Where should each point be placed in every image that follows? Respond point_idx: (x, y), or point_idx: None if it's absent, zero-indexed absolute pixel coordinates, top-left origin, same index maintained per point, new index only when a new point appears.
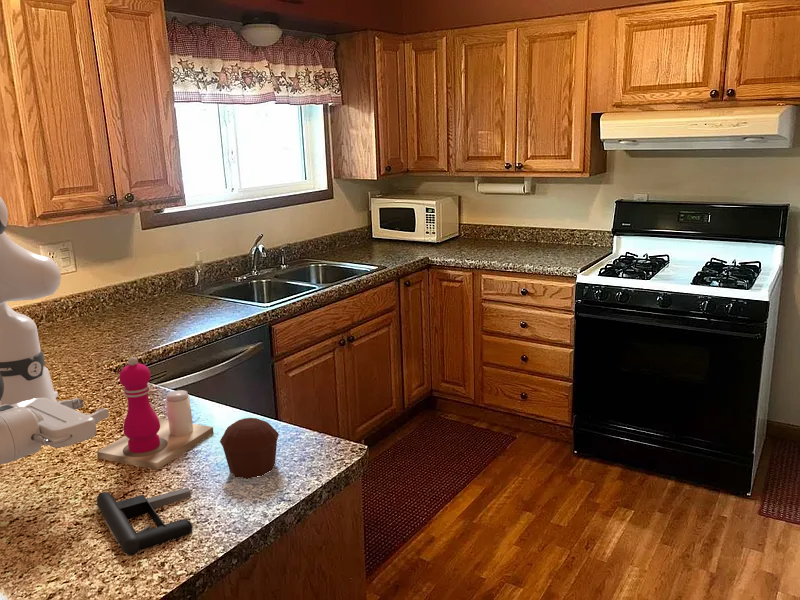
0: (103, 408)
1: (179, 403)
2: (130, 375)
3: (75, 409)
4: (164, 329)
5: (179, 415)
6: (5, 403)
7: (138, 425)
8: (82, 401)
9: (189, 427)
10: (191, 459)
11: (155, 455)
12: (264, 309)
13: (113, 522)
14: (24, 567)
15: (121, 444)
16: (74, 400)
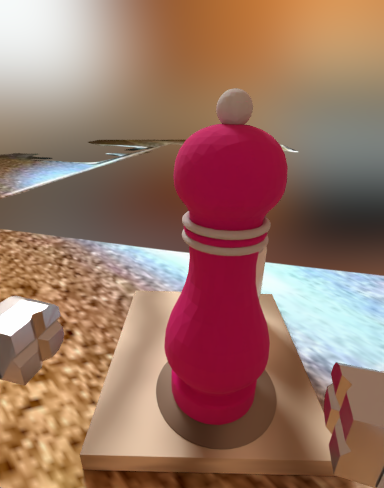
0: (371, 373)
1: (263, 257)
2: (265, 159)
3: (26, 383)
4: (2, 179)
5: (257, 285)
6: None
7: (252, 349)
8: (57, 315)
9: None
10: None
11: (287, 418)
12: (95, 165)
13: None
14: None
15: (135, 393)
16: (7, 324)
